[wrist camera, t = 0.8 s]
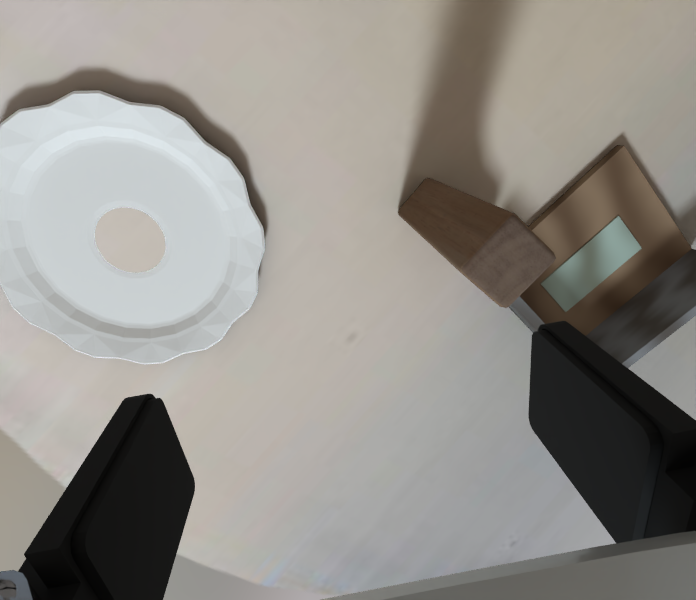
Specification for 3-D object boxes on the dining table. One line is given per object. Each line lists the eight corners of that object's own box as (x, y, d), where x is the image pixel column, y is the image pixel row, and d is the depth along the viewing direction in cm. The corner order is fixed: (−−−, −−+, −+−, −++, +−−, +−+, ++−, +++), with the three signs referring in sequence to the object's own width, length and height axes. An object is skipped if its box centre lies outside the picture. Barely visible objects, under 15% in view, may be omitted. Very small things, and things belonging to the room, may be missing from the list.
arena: (616, 145, 41) (675, 149, 34) (687, 252, 46) (750, 272, 40) (477, 273, 45) (506, 299, 38) (557, 358, 50) (595, 393, 44)
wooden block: (487, 233, 43) (603, 300, 26) (457, 265, 44) (550, 350, 28) (426, 175, 40) (514, 211, 24) (395, 212, 41) (458, 270, 25)
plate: (-29, 57, 33) (-47, 54, 31) (284, 135, 38) (284, 136, 36) (-6, 333, 42) (-19, 342, 40) (245, 369, 47) (243, 379, 45)
